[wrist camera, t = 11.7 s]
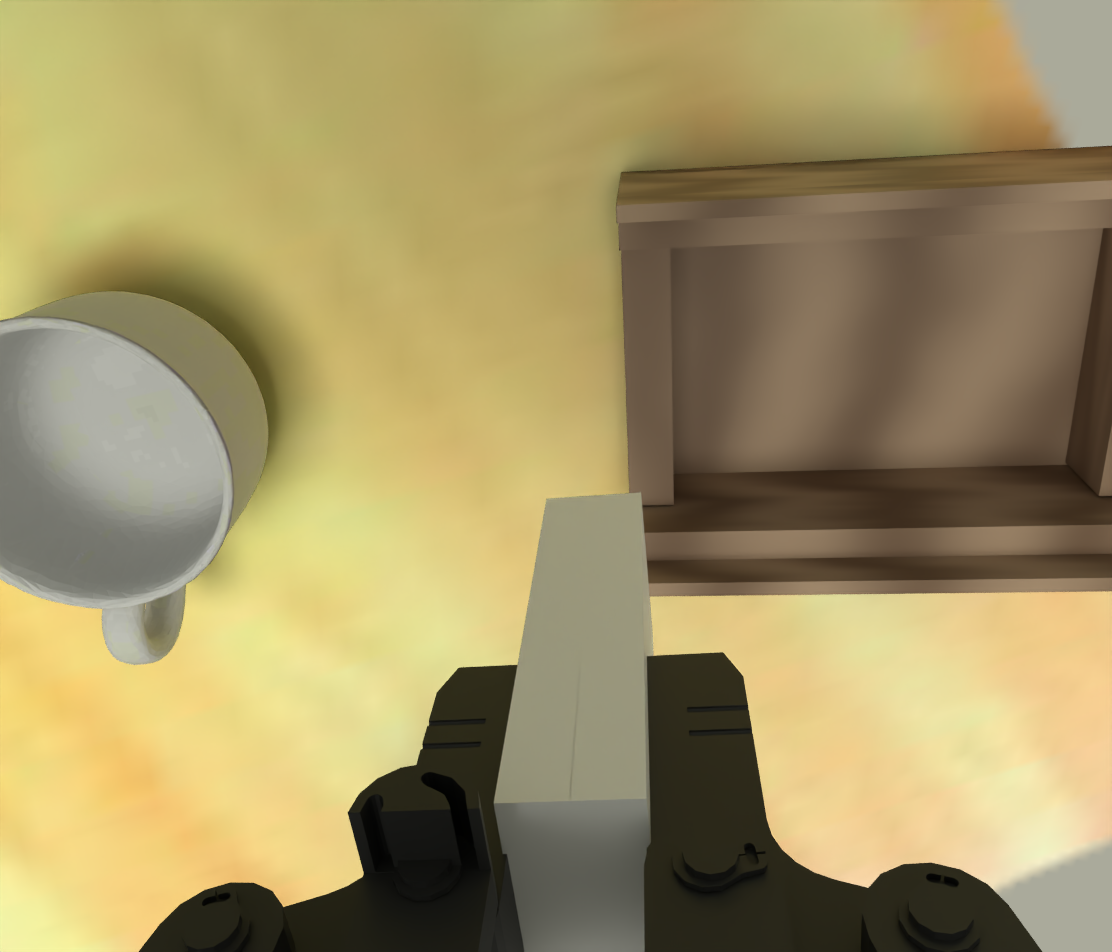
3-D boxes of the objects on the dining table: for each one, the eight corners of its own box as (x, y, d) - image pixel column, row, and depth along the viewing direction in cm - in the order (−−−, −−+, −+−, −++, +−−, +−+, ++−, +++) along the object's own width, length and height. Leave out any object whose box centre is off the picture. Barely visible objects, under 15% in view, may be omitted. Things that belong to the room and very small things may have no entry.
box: (632, 500, 40) (630, 596, 33) (621, 172, 35) (615, 205, 28) (1091, 491, 38) (1189, 590, 31) (1152, 143, 33) (1286, 171, 26)
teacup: (29, 248, 38) (-117, 298, 31) (303, 288, 38) (222, 348, 30) (60, 558, 44) (-57, 663, 36) (298, 595, 43) (228, 707, 36)
